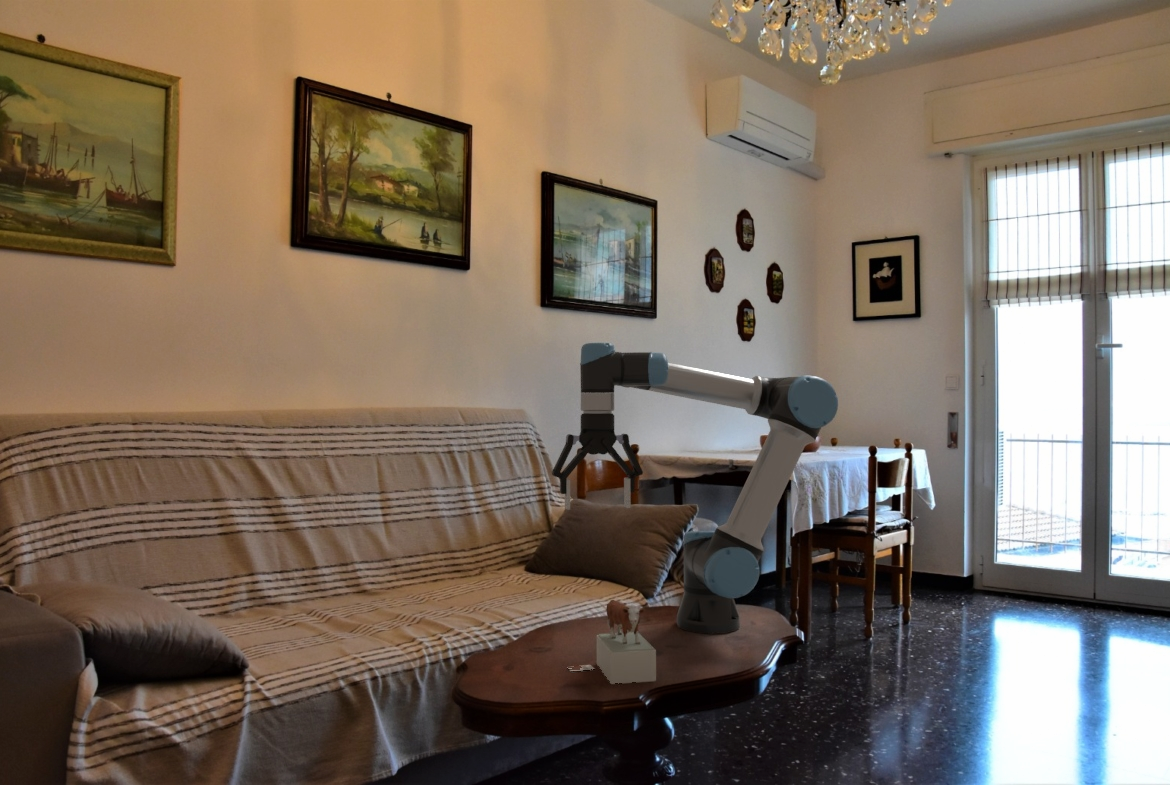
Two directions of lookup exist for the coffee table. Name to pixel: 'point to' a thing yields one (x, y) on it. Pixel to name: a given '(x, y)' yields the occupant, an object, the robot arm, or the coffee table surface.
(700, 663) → the coffee table surface
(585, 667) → the page
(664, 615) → the coffee table surface
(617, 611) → the bull figurine
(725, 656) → the coffee table surface
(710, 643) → the coffee table surface
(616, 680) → the plinth
